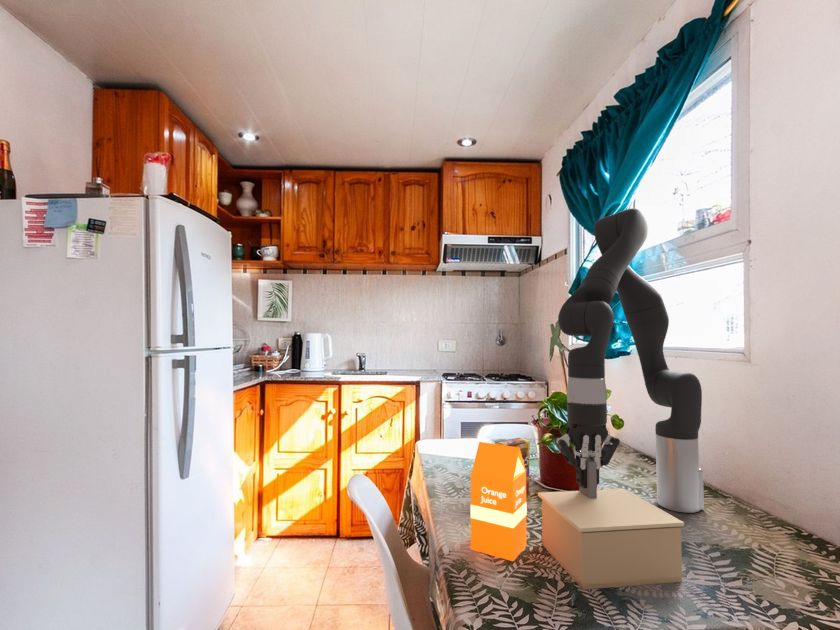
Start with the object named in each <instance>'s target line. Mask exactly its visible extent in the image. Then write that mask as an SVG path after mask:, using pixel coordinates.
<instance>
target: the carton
mask: <svg viewBox="0 0 840 630" xmlns="http://www.w3.org/2000/svg"><path fill="white" fill-rule="evenodd" d="M541 536H542V537H541V543H542V544H541V545H542V546H543V547H544V548H545V549H546V551H548V552H549V554H550V555H551V556H552V557H553V558H554V559H555V560H556V561H557V562H558V564H559V565H560V567H562V568H563V569H564V570H565V571H566V573H568V575H569V576H570V577H571V578H572V579H573V580H574V581H575V583H576V584H577V585H578V586H579V587H580V588H581V590H594V589H608V588H619V587H620V588H621V587H633V586H645V585H646V586H647V585H658V584H660V585H661V584H670V583H672V584H673V583H674V584H675V583H683V567H682V566H683V563H682V562H683V561H682V555H683V554H682V526H677V527H660V528H642V529H625V530H608V531H591V532H579V531H578V530H577V529H576V528H575V527H573V526H572V525H571V524H570V523H569V522H568V521H566V520H565V519H564V518H563V517H562V516H561V515H560V514H558V513H557V512H556V511H555V510H554V509H553V508H552V507H550V506H549V505H548V504H547V503H546V502H545V501H544V500H542V499H541Z"/></svg>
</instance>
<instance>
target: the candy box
mask: <svg viewBox="0 0 840 630" xmlns="http://www.w3.org/2000/svg"><path fill="white" fill-rule="evenodd" d="M494 444H498V445H505V446H512V447H519V448H520V451H521V455H522V459H523V462H524V466H525V470H526V502H528V501H529V500H530V446H531V445H530V440H528V439H526V438H520V437H517V438H511V439H504V440H499V441H498V440H495V441H494Z"/></svg>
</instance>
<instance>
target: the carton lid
mask: <svg viewBox="0 0 840 630" xmlns="http://www.w3.org/2000/svg"><path fill="white" fill-rule="evenodd" d="M586 470H587V488H582V487H580V486H579V485H578V486H579V490H568V491H567V490H566V491H545V492H544V491H542V492H537V496H538V497H539V498H540V499H541V501H542V500H544V501H545V502H546V503H547V504H548V505H549V506H550V507H552V508H553V509H554V510H555V511H556V512H557V513H558V514H560V515H561V516H562V517H563V518H564V519H565V520H566V521H568V522H569V523H570V524H571V525H572V526H573V527H575V528H576V529H577V530H578V531H579V532H591V531H608V530H625V529H642V528H660V527H677V526H679V527H685V522H684V521H682V520H680V519H679V518H677V517H675V516H673V514H672V515H671V514H670V513H669V512H666V511H665V510H663V509H661V508H660V507H657V505H656V506H655V505H654V504H653V503H650V502H648V500H645V499H643V498H642V497H640V496H638V495H636V494H634V493H632V492H631V491H629V490H628V489H625V488H611V489H598V485H597V475H596V462H595V461H593V460H591V459H589V458H588V457H587V458H586Z"/></svg>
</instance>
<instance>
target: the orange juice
mask: <svg viewBox="0 0 840 630" xmlns="http://www.w3.org/2000/svg"><path fill="white" fill-rule="evenodd" d="M527 512H528V511H527V501H526V470H525V466H524V462H523V459H522V455H521V451H520V448H519V447H512V446H505V445H498V444H495V443H490V442H482V441H479V442H478V445H477V451H476V454H475V458H474V462H473V467H472V470H471V473H470V550H473V551H476V552H478V553H483V554H486V555H490V556H493V557H496V558H500V559H504V560H507V561H511V562H514V561H515V560H516V559H517V558H518V556H519V555H520V554H521V553H522V552H523V550H524V549H525V548H526V547H527V514H528V513H527Z"/></svg>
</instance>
